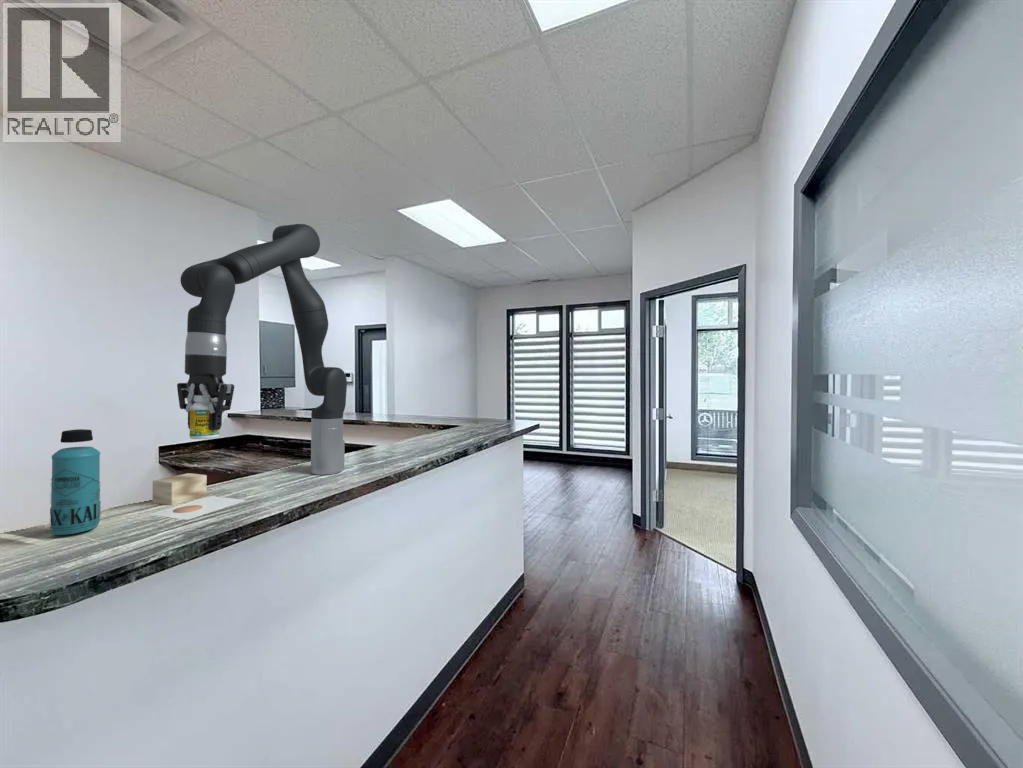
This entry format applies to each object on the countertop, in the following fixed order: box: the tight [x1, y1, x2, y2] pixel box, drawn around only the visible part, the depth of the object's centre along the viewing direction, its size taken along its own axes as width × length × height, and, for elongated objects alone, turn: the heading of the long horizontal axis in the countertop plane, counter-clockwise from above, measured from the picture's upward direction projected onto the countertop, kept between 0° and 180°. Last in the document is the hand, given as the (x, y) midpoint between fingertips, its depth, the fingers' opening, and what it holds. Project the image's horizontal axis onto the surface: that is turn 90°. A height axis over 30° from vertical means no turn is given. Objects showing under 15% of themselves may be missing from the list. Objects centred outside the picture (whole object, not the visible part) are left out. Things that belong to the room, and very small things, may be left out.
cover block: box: [152, 472, 208, 506], centre depth 98 cm, size 8×6×6 cm
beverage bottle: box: [49, 428, 102, 536], centre depth 77 cm, size 6×7×20 cm
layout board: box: [148, 495, 248, 521], centre depth 92 cm, size 14×11×1 cm
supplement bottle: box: [189, 395, 220, 440], centre depth 93 cm, size 5×5×10 cm
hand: (204, 429), depth 93 cm, fingers closed on supplement bottle, 5 cm apart
